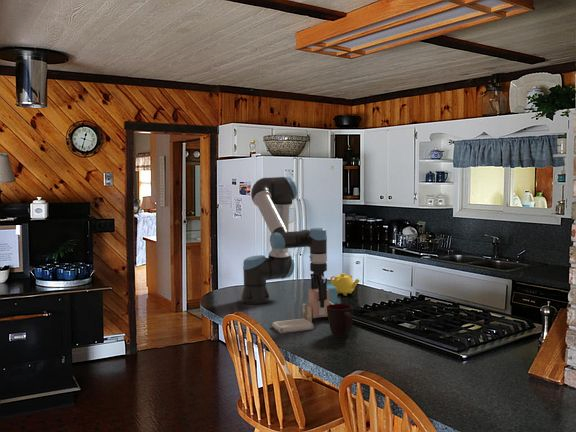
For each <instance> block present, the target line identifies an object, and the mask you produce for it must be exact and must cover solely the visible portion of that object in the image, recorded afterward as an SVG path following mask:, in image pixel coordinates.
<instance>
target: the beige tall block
mask: <svg viewBox="0 0 576 432" xmlns="http://www.w3.org/2000/svg"><path fill="white" fill-rule="evenodd" d="M318 300H319V291H318V289H311V288H310V289H309V288H308V306H310V307H311V310H312V319H315V318H322V317H323V318H325V317H328V315H327V306H328V305H329V290H328V289H327V300H325V314H322V315H319V312H318Z"/></svg>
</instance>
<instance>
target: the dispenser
mask: <svg viewBox="0 0 576 432" xmlns="http://www.w3.org/2000/svg"><path fill="white" fill-rule="evenodd" d="M332 304H334V303H332V302H330V301H329V305H332ZM302 318H304V319H306V320H308V321H309V322H311V323H312V322H313V321H312V319H313V317H312V310H311V307H310V306H309V304H306V303H302ZM312 324H313V323H312Z"/></svg>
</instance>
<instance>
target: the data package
mask: <svg viewBox="0 0 576 432" xmlns="http://www.w3.org/2000/svg"><path fill="white" fill-rule="evenodd" d="M327 289H328V290H329V301H330V302H332V303H334V304H338V295H337V288H336V287H335V286H333V285H331V283H327Z"/></svg>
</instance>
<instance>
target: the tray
mask: <svg viewBox="0 0 576 432" xmlns="http://www.w3.org/2000/svg"><path fill="white" fill-rule="evenodd" d="M271 324H272V325H271V326H272V328H273V329H275V330H276V331H277V332H279V334H289V333H296V332H302V331H309V330H310V331H312V330H314V329H315V328H314V327H315V325H314V323H311V322H309V321H308V320H306V319H304V318H303V317H302V318H295V319H289V320H288V319H287V320H279V321H272V322H271Z"/></svg>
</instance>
